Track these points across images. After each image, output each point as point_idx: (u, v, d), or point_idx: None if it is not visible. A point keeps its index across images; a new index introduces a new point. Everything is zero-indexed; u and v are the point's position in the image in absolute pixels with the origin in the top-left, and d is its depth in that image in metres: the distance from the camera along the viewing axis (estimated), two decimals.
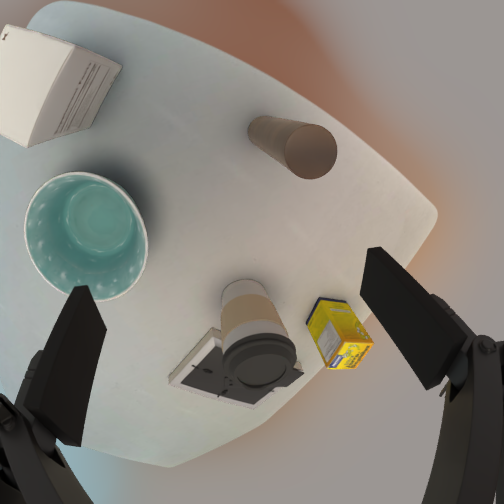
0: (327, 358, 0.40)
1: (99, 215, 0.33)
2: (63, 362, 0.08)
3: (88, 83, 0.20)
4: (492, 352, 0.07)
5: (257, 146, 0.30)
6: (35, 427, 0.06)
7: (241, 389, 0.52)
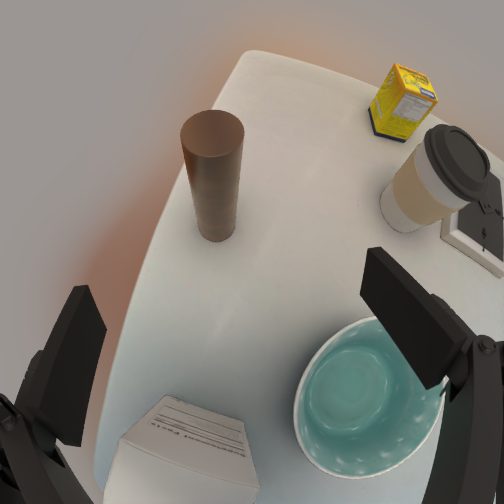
0: (428, 103, 0.29)
1: (345, 390, 0.27)
2: (63, 362, 0.08)
3: (180, 424, 0.19)
4: (492, 352, 0.07)
5: (232, 223, 0.29)
6: (35, 427, 0.06)
7: (490, 194, 0.36)
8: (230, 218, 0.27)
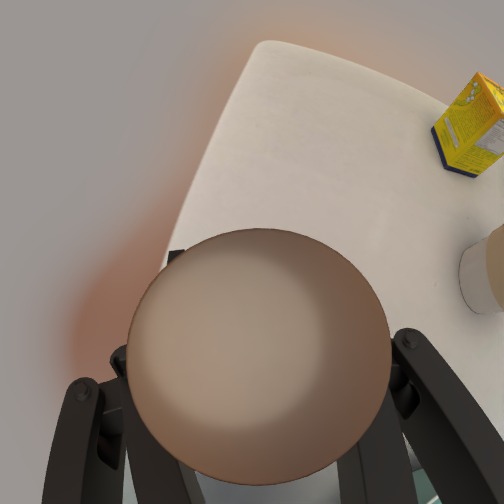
0: None
1: None
2: None
3: None
4: None
5: None
6: None
7: None
8: None
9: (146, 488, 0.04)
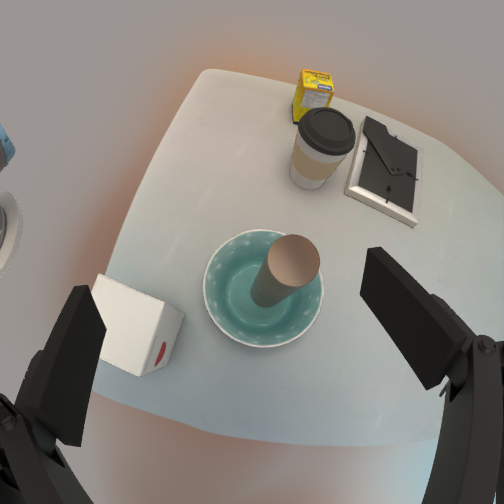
0: (326, 94, 0.46)
1: None
2: (63, 362, 0.08)
3: None
4: (492, 352, 0.07)
5: None
6: (35, 427, 0.06)
7: (401, 161, 0.52)
8: None
9: None
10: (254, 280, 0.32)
